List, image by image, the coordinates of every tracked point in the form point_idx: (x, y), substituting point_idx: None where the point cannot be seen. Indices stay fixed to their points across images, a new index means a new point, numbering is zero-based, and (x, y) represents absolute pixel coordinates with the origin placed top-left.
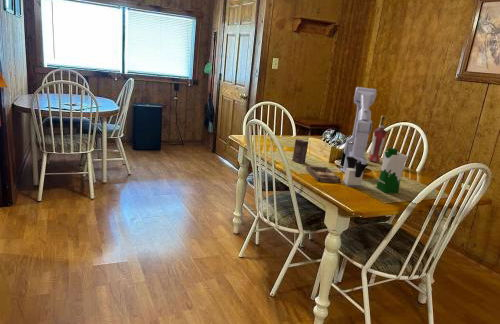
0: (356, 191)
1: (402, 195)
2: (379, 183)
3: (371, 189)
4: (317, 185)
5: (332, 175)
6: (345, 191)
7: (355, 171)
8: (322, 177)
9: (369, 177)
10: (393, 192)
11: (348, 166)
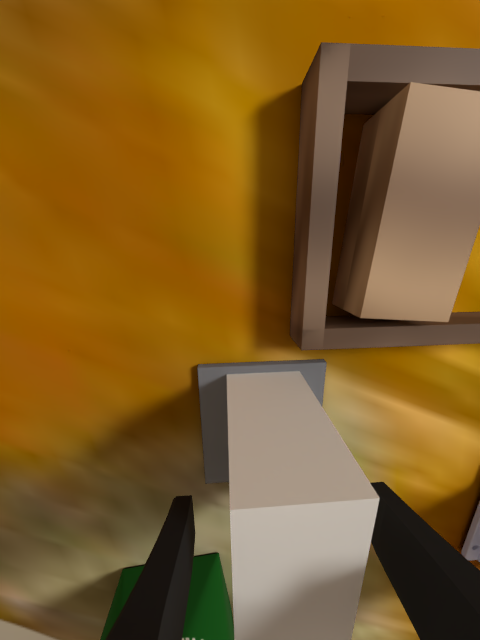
0: (96, 398)
1: None
2: None
3: None
4: (161, 4)
5: (367, 277)
6: (59, 299)
7: (233, 569)
8: (327, 116)
9: None
10: None
11: (438, 551)
